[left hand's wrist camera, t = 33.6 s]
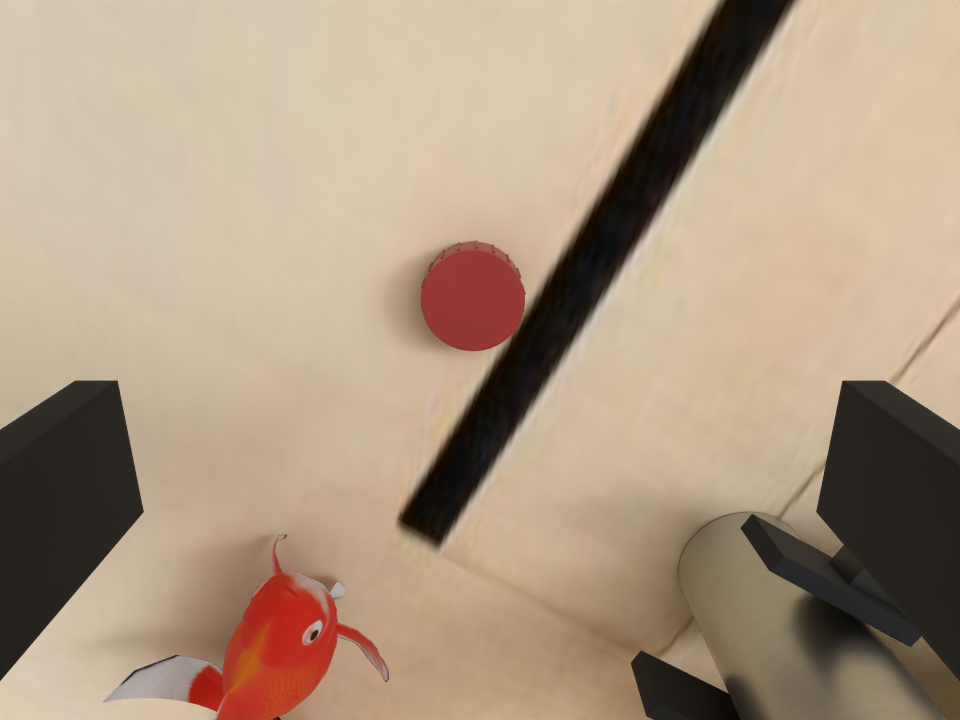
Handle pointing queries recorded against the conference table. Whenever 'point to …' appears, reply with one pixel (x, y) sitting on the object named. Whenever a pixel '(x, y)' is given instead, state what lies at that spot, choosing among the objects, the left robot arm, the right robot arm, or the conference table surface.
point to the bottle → (789, 639)
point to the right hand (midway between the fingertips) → (700, 614)
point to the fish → (260, 654)
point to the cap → (473, 296)
